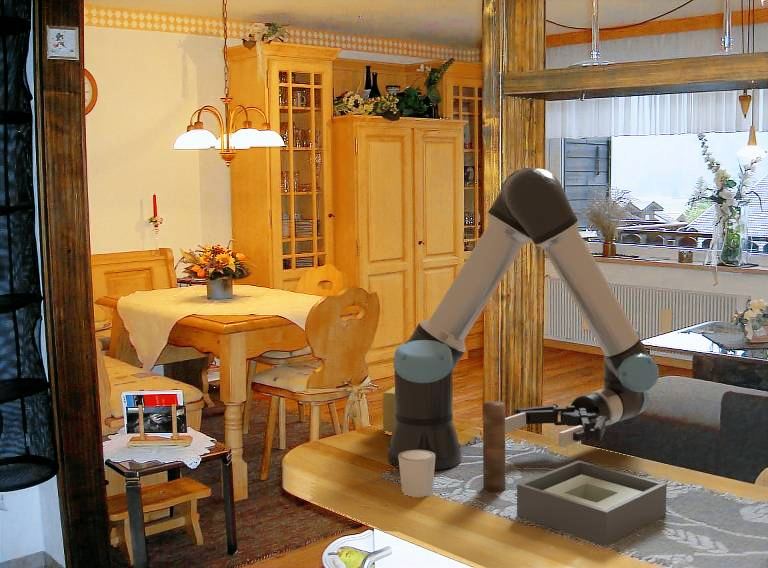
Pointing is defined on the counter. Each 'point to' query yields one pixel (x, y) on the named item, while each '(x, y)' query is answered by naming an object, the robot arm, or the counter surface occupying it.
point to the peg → (494, 446)
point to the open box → (591, 501)
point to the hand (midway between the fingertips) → (531, 432)
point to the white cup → (417, 472)
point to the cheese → (389, 410)
